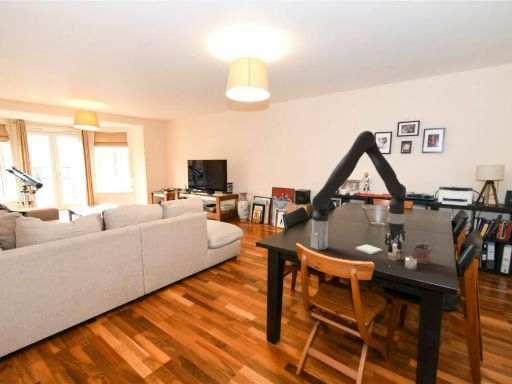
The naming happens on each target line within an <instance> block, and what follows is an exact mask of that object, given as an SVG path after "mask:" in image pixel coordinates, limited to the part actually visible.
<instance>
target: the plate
mask: <svg viewBox="0 0 512 384" xmlns="http://www.w3.org/2000/svg"><path fill="white" fill-rule="evenodd" d="M355 250H357V251H360V252H363V253H366V254H368V255H374V254H377V253H380V252H382V251H383V249H382V248H379V247H376V246H373V245H369V244H363V245H360V246H356V247H355Z"/></svg>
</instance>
